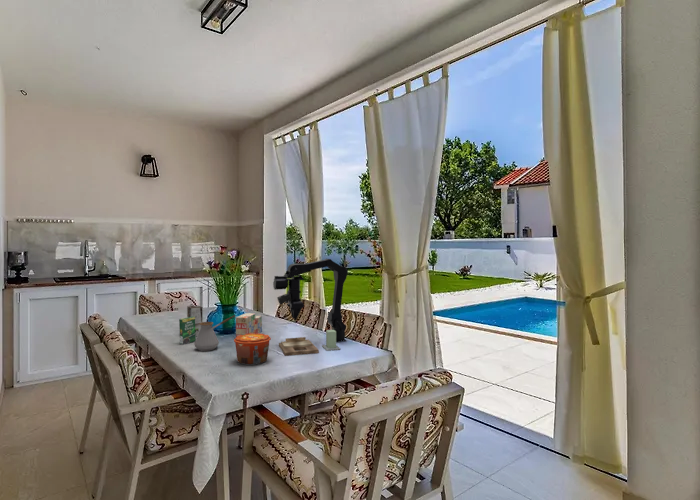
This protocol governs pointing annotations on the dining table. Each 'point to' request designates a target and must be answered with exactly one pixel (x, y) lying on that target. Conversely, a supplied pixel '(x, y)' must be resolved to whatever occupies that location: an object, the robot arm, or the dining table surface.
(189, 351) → the dining table surface
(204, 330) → the coffee pot
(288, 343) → the sliding lid
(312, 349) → the well board
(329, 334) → the sage block
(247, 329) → the stack of blocks
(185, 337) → the coffee box
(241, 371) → the dining table surface
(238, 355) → the food container
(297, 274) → the robot arm
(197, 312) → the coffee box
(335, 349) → the rubber mat
